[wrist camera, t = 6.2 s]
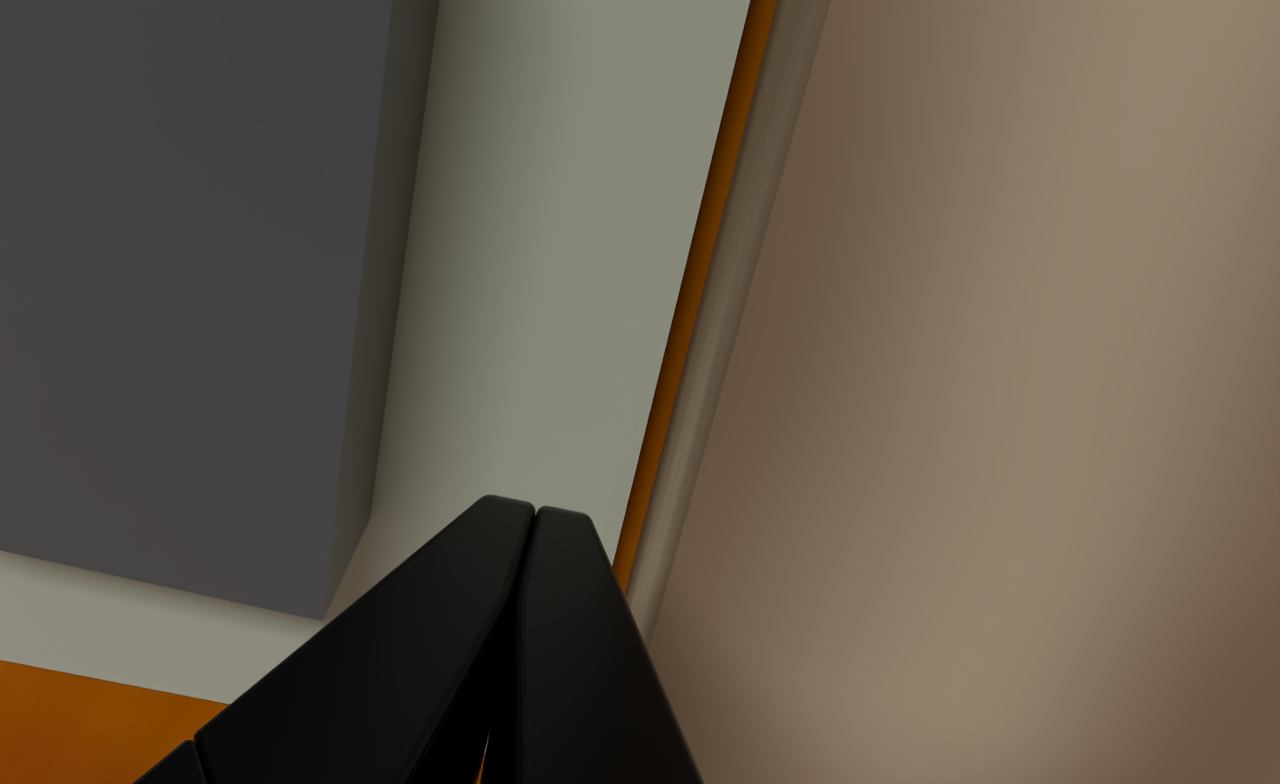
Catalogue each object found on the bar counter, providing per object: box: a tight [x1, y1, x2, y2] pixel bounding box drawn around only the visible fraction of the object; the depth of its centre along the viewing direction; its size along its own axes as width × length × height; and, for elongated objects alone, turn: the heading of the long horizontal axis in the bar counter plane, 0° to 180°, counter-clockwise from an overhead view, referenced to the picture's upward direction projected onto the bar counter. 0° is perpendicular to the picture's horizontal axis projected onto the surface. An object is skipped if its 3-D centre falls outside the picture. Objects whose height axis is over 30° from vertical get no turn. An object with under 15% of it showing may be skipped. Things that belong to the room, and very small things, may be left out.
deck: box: [625, 0, 1280, 784], centre depth 12 cm, size 12×14×4 cm
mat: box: [0, 0, 750, 753], centre depth 13 cm, size 10×16×1 cm, turn 168°
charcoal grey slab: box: [0, 0, 439, 621], centre depth 11 cm, size 6×9×2 cm, turn 167°
